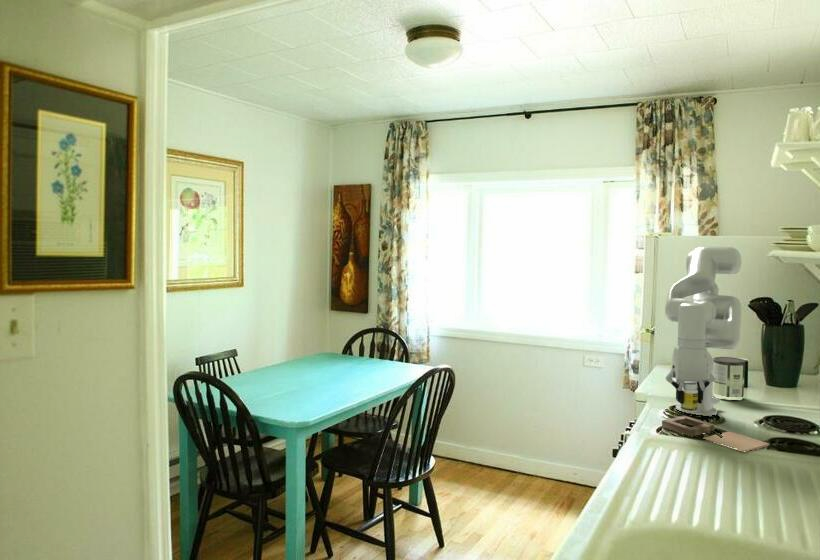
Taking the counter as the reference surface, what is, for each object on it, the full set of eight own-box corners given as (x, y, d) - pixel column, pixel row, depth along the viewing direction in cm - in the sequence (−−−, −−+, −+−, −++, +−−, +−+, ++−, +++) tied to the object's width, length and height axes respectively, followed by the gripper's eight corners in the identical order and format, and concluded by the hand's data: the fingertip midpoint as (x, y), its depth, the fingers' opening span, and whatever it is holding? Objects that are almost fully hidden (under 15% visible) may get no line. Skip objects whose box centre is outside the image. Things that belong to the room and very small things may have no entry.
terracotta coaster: (729, 433, 179) (729, 431, 179) (769, 445, 168) (769, 443, 168) (703, 439, 173) (703, 437, 173) (743, 453, 163) (743, 450, 163)
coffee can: (722, 392, 225) (724, 355, 224) (749, 398, 217) (751, 360, 216) (705, 396, 220) (707, 358, 219) (732, 402, 211) (734, 363, 210)
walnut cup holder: (684, 422, 189) (684, 415, 189) (714, 431, 180) (714, 424, 180) (661, 427, 184) (662, 420, 184) (691, 437, 175) (692, 430, 175)
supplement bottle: (694, 413, 179) (695, 386, 178) (678, 410, 182) (679, 383, 181) (699, 409, 183) (700, 383, 182) (683, 406, 186) (684, 380, 185)
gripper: (713, 340, 184) (711, 398, 186) (657, 341, 184) (656, 398, 186) (725, 346, 176) (723, 406, 178) (667, 346, 177) (666, 406, 179)
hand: (689, 401), depth 182 cm, fingers closed on supplement bottle, 4 cm apart
